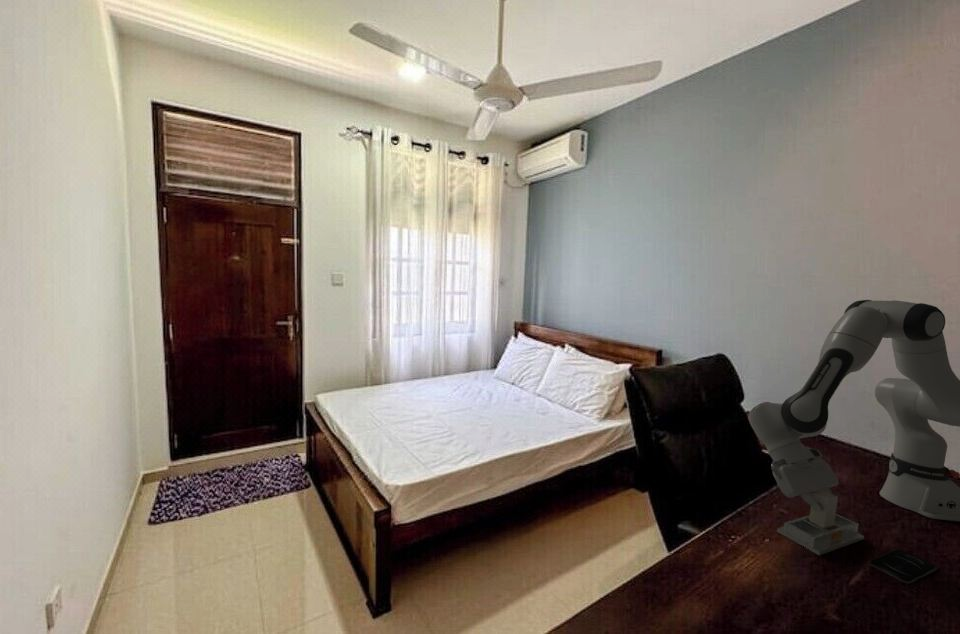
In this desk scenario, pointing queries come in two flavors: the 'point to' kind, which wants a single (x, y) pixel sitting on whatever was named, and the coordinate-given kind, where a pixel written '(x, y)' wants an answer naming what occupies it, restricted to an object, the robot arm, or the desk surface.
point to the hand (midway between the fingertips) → (826, 508)
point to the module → (828, 513)
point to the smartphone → (903, 565)
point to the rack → (821, 534)
